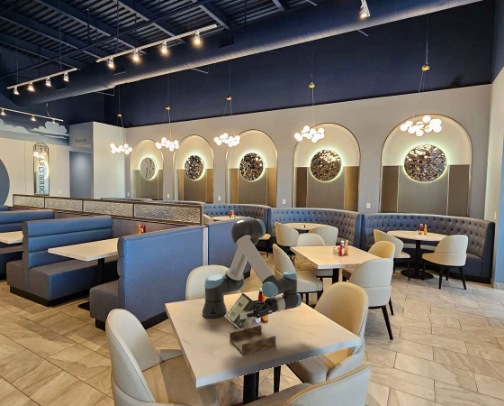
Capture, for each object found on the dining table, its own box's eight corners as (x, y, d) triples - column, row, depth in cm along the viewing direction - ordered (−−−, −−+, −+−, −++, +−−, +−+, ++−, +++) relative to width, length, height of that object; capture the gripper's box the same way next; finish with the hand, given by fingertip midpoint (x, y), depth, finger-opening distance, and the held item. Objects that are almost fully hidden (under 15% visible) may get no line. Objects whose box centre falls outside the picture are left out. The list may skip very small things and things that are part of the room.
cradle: (260, 332, 160) (260, 324, 160) (275, 346, 146) (275, 337, 146) (229, 340, 151) (229, 331, 151) (242, 355, 138) (242, 345, 138)
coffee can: (240, 330, 147) (258, 306, 151) (239, 330, 137) (258, 305, 141) (224, 316, 149) (242, 293, 153) (223, 315, 139) (242, 291, 144)
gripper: (286, 319, 144) (245, 329, 134) (263, 304, 164) (226, 311, 154) (286, 304, 144) (245, 313, 133) (263, 290, 164) (226, 297, 153)
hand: (235, 312), depth 144 cm, fingers closed on coffee can, 10 cm apart
